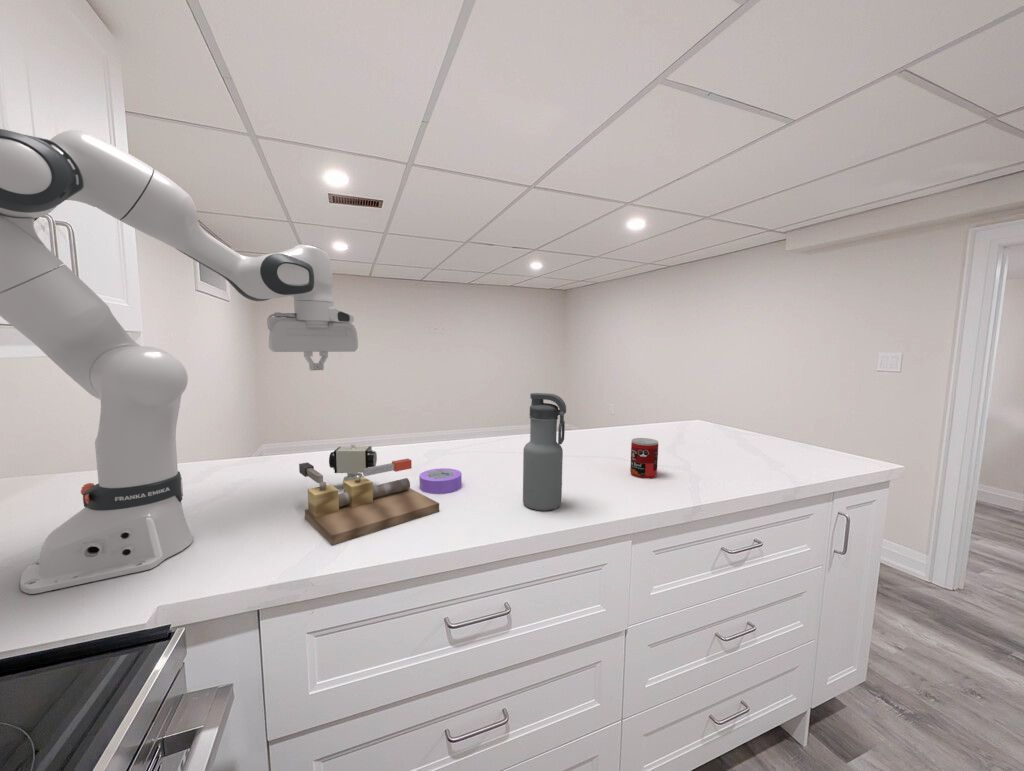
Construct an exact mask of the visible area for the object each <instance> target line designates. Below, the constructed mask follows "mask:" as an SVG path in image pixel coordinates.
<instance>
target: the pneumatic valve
mask: <svg viewBox="0 0 1024 771" xmlns="http://www.w3.org/2000/svg"><path fill="white" fill-rule="evenodd" d="M372 448H373V446H372V445H371V446H370V445H369V446H364V445H363V446H360V445H359V446H356V444H355V443H354V444H351V445H350V446H338V447H337V448H336V449H334V450H333V451H331V452H330V454H329V457H328V465H329V468H330V469H333V470H334V474H346V476H344V477H343V478H342V479H343V480H342V482H343V481H348V480H352V479H355V475H361V477H365V476H364V475H363V468H369V467H374V466H377V460H378V458H377V456H378V455H377V454H378V453H377V452H376V451H375V450H373V449H372Z"/></svg>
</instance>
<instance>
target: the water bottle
mask: <svg viewBox="0 0 1024 771" xmlns="http://www.w3.org/2000/svg"><path fill="white" fill-rule="evenodd" d="M530 399H531V401H530V402H531V403H530V404H531V405H530V406H529V419H530V420H529V421H530V426H529V427H530V429H529V430H530V432H529V435H530V436H529V441H528V442H527V443H526V444H525V445H524V446H523V456H522V457H523V459H522V460H523V462H522V467H523V468H522V469H523V470H522V474H523V475H522V479H523V480H522V503H523V504H524V506H526V507H527V508H528V509H531V510H535V511H539V512H540V511H552V510H553V511H554V510H555V509H558V508H559V507H560V506H561V504H562V496H563V495H562V492H563V490H562V489H563V459H564V458H563V455H564V453H563V448H562V444H563V442H564V440H565V433H566V432H565V431H566V430H565V428H566V426H565V425H566V422H565V414H566V413H567V404H566V403H565V401H564V399H563V398H562V397H560V396H559V395H557V394H554V393H546V392H545V393H544V392H543V393H542V392H532V393H530ZM544 400H545V401H550V402H553V403H555V404H553V403H547V402H544ZM558 418H559V424H558V425H557V423H558ZM557 426H558V427H557ZM557 428H558V429H557ZM557 430H558V432H557ZM557 435H558V436H557ZM557 437H558V438H557Z"/></svg>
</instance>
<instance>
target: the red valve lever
mask: <svg viewBox="0 0 1024 771" xmlns="http://www.w3.org/2000/svg"><path fill="white" fill-rule="evenodd" d="M411 469H412V459H410V458H404V459H397V460H392V461H391V462H390V463H385V464H380V465H376V466H374V467H369V468H363V473H362V476H364V477H368V476H373V475H377V474H382V473H389V472H401V471H406V470H411ZM355 481H356V482H358V481H361V475H355Z"/></svg>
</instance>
